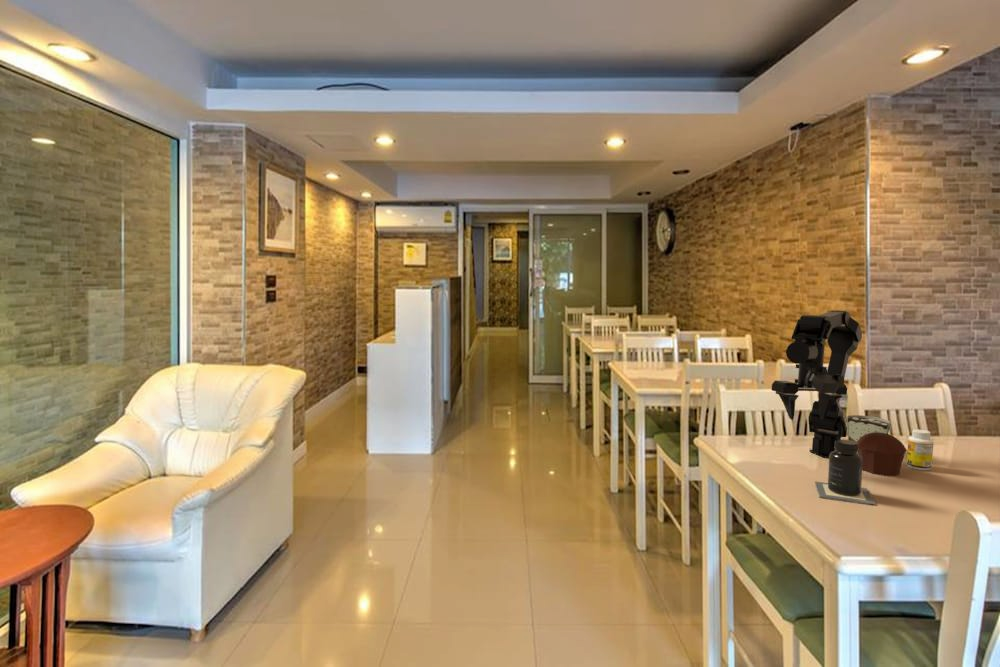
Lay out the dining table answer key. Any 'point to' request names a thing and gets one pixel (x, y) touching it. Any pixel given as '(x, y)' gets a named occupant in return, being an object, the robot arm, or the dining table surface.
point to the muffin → (881, 453)
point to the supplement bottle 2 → (920, 450)
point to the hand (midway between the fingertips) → (806, 419)
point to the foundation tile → (826, 493)
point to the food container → (865, 426)
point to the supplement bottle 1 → (845, 468)
